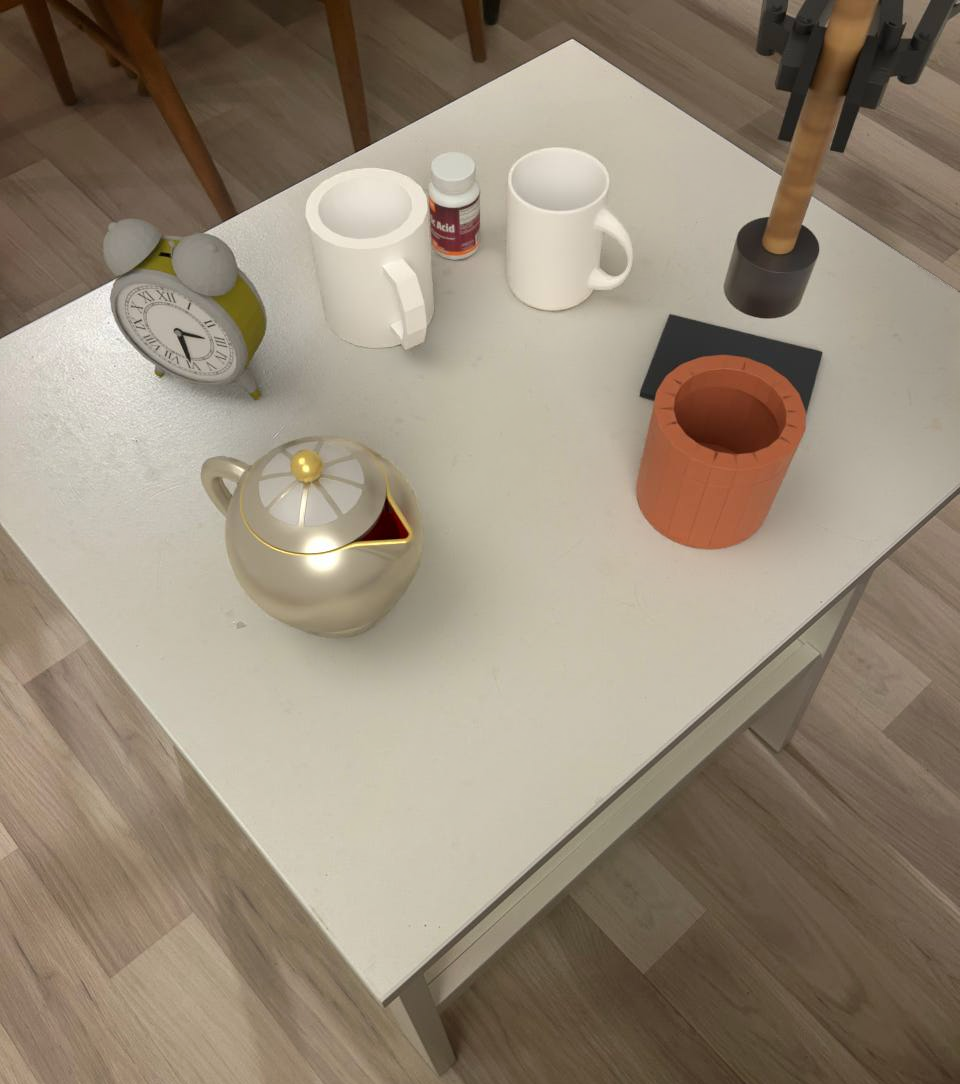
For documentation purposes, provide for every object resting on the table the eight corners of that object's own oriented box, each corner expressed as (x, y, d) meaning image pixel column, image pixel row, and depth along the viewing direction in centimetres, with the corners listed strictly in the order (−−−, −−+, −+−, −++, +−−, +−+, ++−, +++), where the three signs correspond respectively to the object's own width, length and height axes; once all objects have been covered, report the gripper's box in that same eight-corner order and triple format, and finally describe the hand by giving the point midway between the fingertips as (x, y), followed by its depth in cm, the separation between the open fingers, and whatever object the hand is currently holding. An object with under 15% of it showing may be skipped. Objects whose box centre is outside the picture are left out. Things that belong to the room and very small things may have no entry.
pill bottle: (421, 244, 90) (415, 165, 83) (456, 221, 92) (453, 141, 84) (455, 268, 89) (451, 189, 81) (490, 244, 90) (490, 165, 83)
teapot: (468, 565, 73) (462, 424, 58) (377, 705, 67) (346, 587, 53) (279, 478, 77) (230, 327, 63) (178, 603, 72) (99, 468, 57)
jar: (795, 520, 75) (836, 437, 66) (678, 568, 73) (704, 490, 64) (723, 426, 79) (752, 337, 70) (612, 469, 77) (628, 383, 68)
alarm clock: (141, 385, 82) (73, 241, 69) (175, 331, 85) (116, 183, 72) (262, 414, 80) (216, 272, 67) (292, 358, 83) (254, 212, 70)
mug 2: (602, 341, 84) (616, 240, 75) (488, 292, 87) (488, 190, 78) (645, 283, 87) (663, 180, 78) (534, 239, 91) (540, 134, 81)
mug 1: (473, 343, 84) (471, 244, 75) (374, 388, 82) (359, 291, 72) (401, 256, 90) (391, 153, 80) (306, 295, 87) (284, 194, 78)
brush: (817, 303, 66) (967, -75, 45) (750, 328, 65) (873, -48, 44) (773, 255, 68) (897, -127, 48) (708, 278, 67) (805, -102, 47)
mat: (821, 356, 83) (823, 351, 82) (799, 438, 79) (801, 433, 78) (668, 318, 85) (669, 313, 85) (639, 396, 81) (640, 391, 80)
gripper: (977, -7, 63) (932, 214, 52) (753, -46, 65) (668, 157, 55) (1035, -142, 56) (997, 81, 46) (783, -180, 58) (693, 23, 48)
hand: (818, 122), depth 50 cm, fingers closed on brush, 2 cm apart
